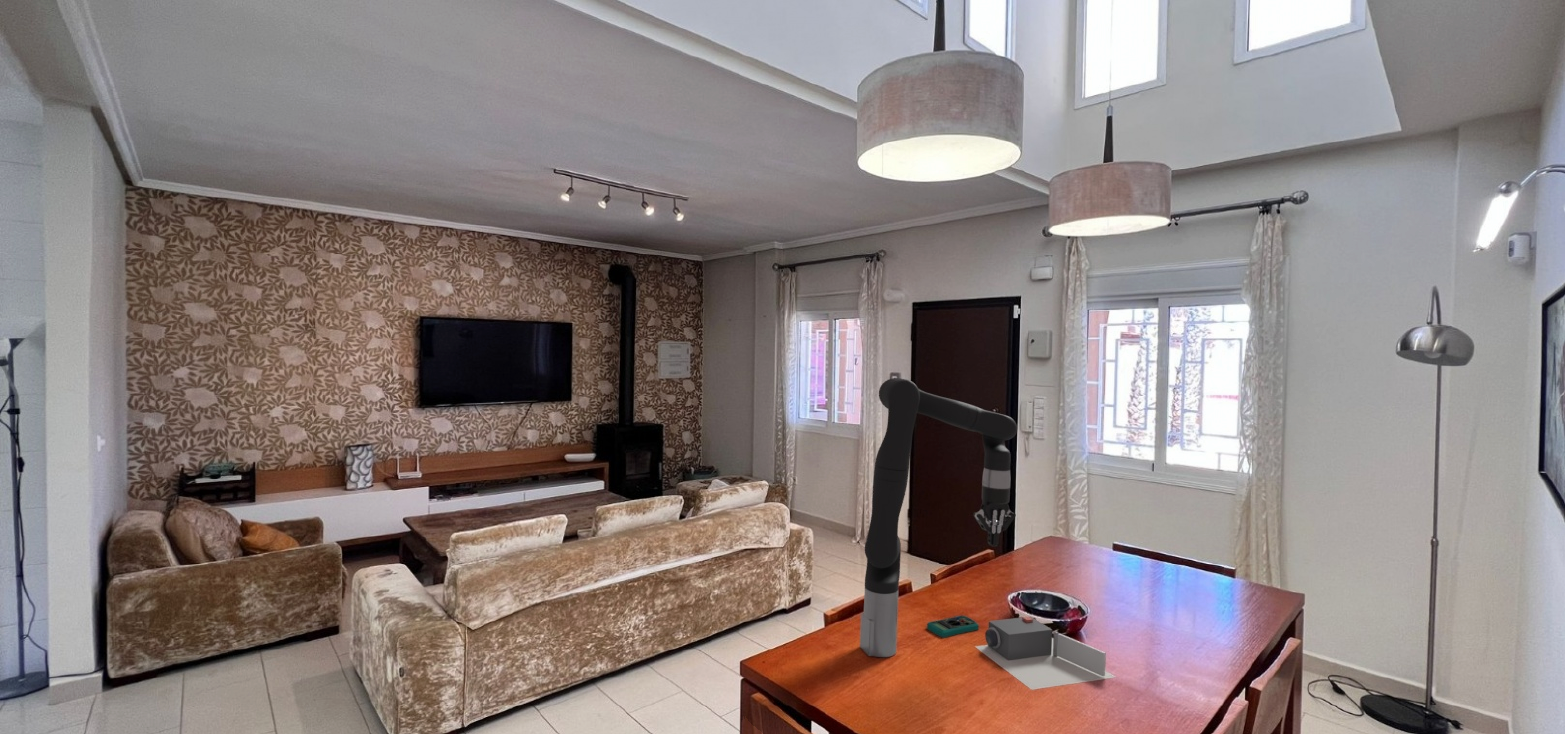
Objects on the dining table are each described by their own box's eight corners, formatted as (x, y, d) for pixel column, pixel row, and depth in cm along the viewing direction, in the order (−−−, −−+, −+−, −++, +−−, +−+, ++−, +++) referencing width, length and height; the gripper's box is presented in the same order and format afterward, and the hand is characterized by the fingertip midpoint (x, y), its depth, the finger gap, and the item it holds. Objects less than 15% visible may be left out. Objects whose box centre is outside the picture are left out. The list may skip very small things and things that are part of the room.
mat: (1031, 691, 156) (1031, 689, 156) (974, 647, 179) (974, 646, 179) (1116, 678, 164) (1116, 677, 164) (1051, 638, 187) (1051, 637, 187)
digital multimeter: (980, 632, 191) (980, 622, 191) (942, 640, 184) (942, 630, 184) (963, 622, 198) (963, 613, 197) (925, 630, 191) (925, 621, 191)
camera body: (1003, 661, 171) (1004, 632, 171) (983, 646, 179) (984, 618, 179) (1051, 654, 175) (1052, 626, 175) (1029, 640, 184) (1030, 613, 184)
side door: (1051, 654, 175) (1052, 631, 175) (1055, 653, 176) (1056, 630, 176) (1102, 677, 163) (1103, 653, 163) (1106, 676, 164) (1107, 651, 164)
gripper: (983, 488, 175) (980, 550, 175) (1024, 487, 179) (1021, 548, 179) (968, 482, 182) (965, 542, 182) (1007, 481, 186) (1004, 540, 186)
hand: (993, 545), depth 181 cm, fingers closed
